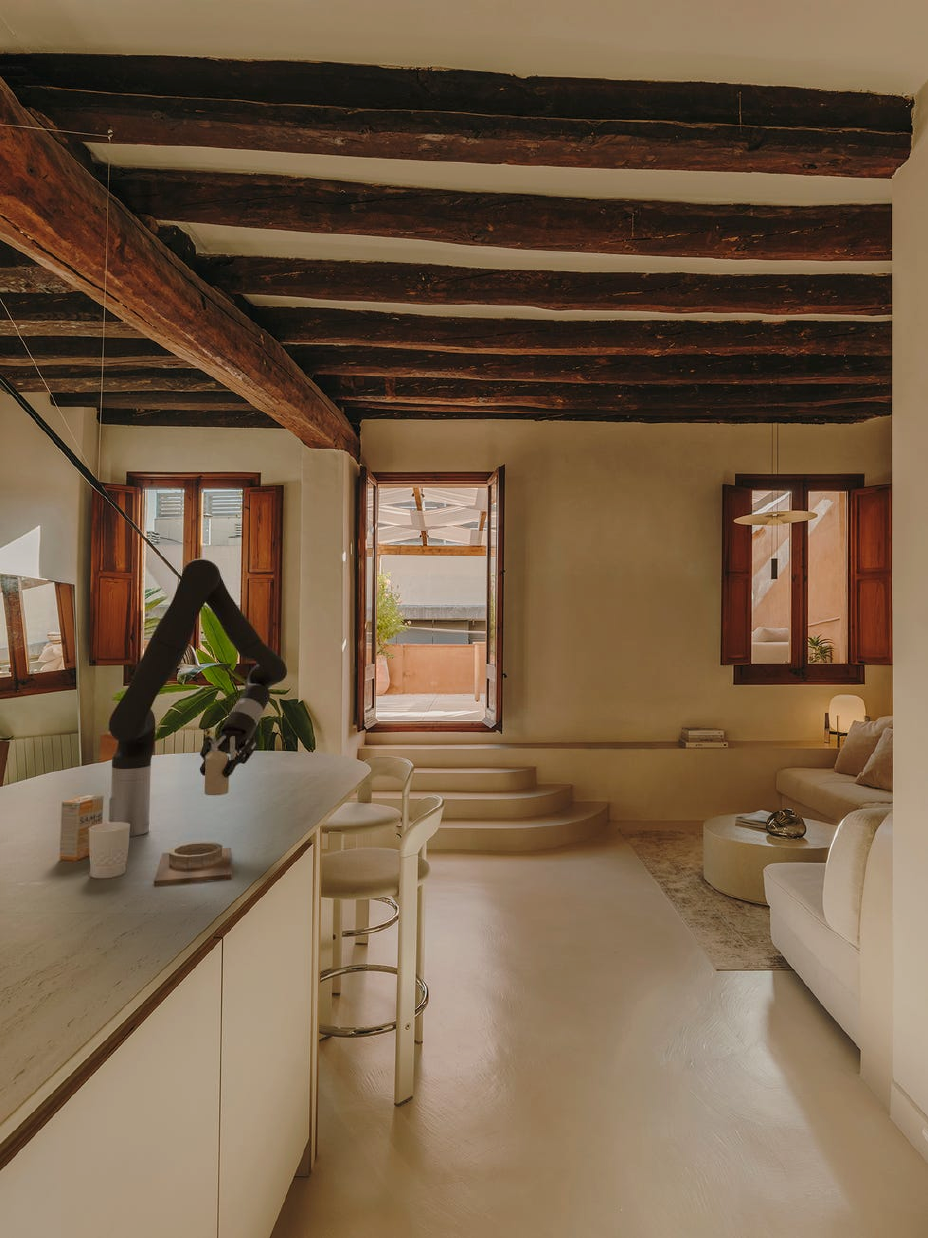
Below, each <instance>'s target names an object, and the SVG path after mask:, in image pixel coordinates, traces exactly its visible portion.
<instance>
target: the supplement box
mask: <svg viewBox="0 0 928 1238" xmlns="http://www.w3.org/2000/svg"><path fill="white" fill-rule="evenodd" d="M60 812H61V813H60V816H61V817H60V839H59V840H60V841H59V859H60V860H64V861H75V862H76V861H78V860H81V859H83V858H86V857H90V854H89V828H90V827H91V826H94V825H97V824H102V823H103V818H104V817H103V815H104V814H103V813H104V796H103V795H94V794H92V795H88V794H87V795H84V796H81V797H76V798H73V799H69V800H63V801H61V811H60Z"/></svg>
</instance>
